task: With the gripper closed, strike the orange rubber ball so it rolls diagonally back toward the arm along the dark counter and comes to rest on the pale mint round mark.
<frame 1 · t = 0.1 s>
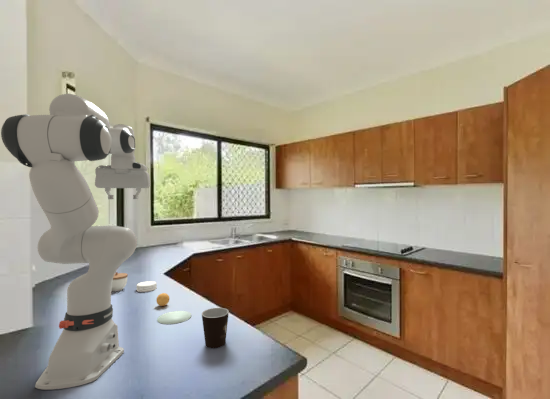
hand: (123, 199, 116), 48 cm above the counter, tool pointing down, fingers open, 8 cm apart
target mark: (174, 317, 114), on the counter
white round disc: (146, 290, 153), on the counter
ball: (163, 299, 127), on the counter
coffee mug: (218, 342, 93), on the counter
lidded jar: (116, 290, 153), on the counter
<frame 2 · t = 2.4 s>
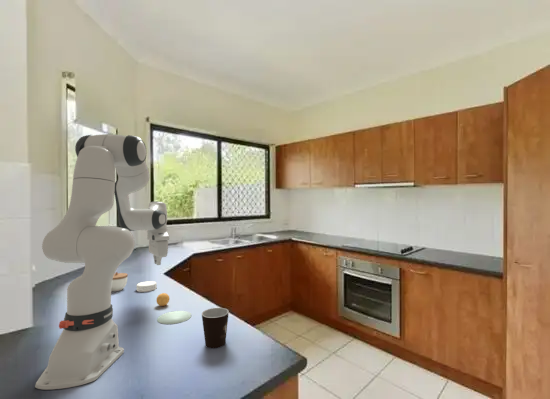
hand: (157, 264, 135), 17 cm above the counter, tool pointing down, fingers closed
nothing on the counter moved.
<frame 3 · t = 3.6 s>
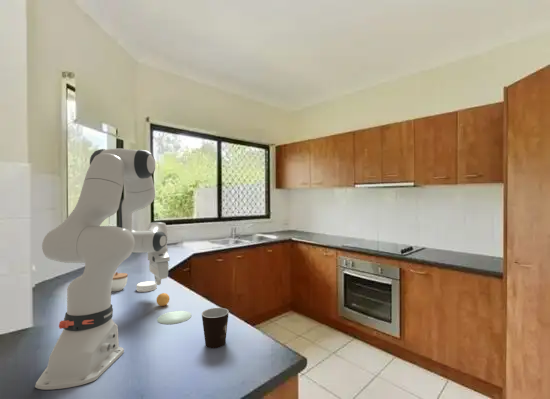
hand: (158, 284, 136), 7 cm above the counter, tool pointing down, fingers closed
nothing on the counter moved.
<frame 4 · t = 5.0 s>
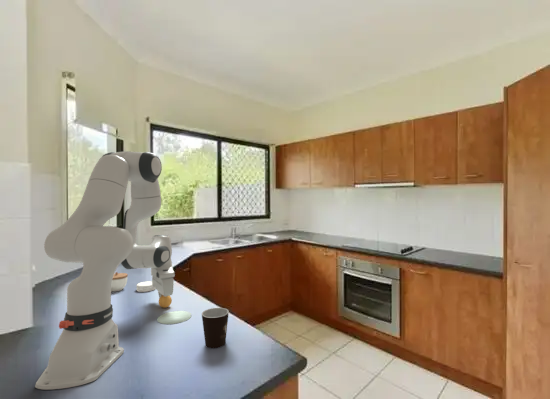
hand: (162, 300, 128), 2 cm above the counter, tool pointing down, fingers closed
ball: (165, 301, 125), on the counter, touching gripper
everything else where it was.
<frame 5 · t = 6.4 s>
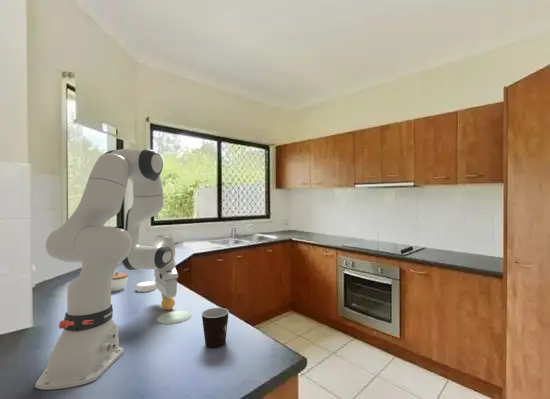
hand: (165, 302, 126), 2 cm above the counter, tool pointing down, fingers closed
ball: (168, 303, 123), on the counter, touching gripper
everything else where it was.
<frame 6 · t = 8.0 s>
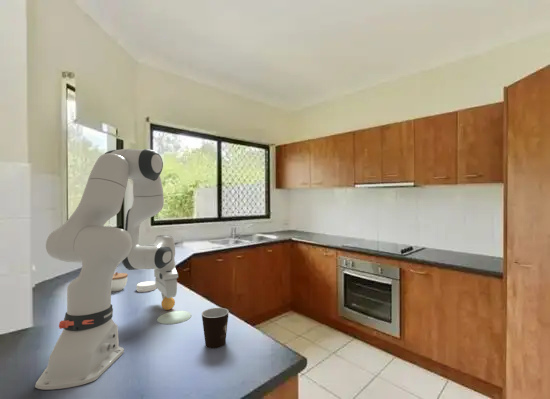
hand: (165, 302, 126), 2 cm above the counter, tool pointing down, fingers closed
nothing on the counter moved.
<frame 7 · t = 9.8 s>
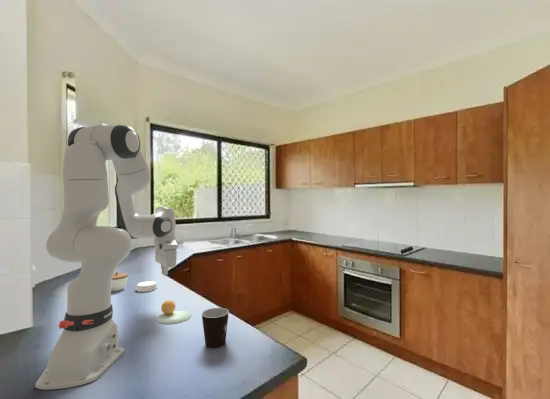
hand: (164, 274, 125), 14 cm above the counter, tool pointing down, fingers closed
ball: (168, 307, 118), on the counter
everything else where it was.
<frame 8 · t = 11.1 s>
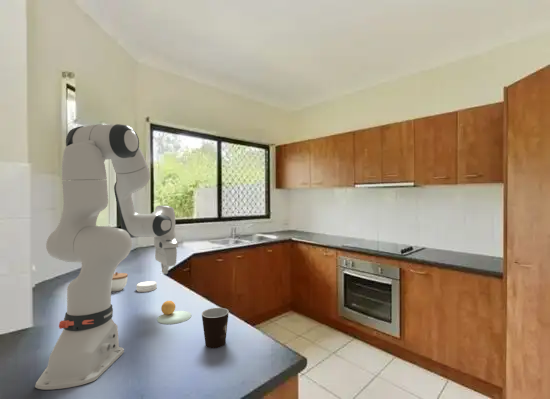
hand: (165, 273, 125), 15 cm above the counter, tool pointing down, fingers closed
nothing on the counter moved.
at the end: ball 5.0 cm from the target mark (horizontally); ball at rest at the end (0.0 cm/s); ball moved 12.1 cm from its start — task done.
